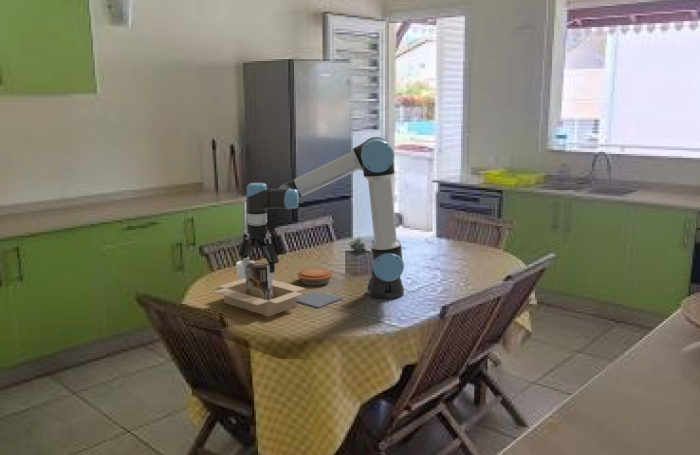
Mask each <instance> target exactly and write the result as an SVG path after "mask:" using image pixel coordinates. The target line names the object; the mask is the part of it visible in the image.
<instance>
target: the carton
mask: <svg viewBox="0 0 700 455" xmlns="http://www.w3.org/2000/svg"><path fill="white" fill-rule="evenodd" d="M218 288H221V289H217V290H214V291H213V293H216V294H218V295H222V296H223V300H224V302H223V303H225V304H227V305H230V306H233V307H236V306H237V308H239V307H240V308H239V309H242V308H244V309H243V310H245V309H247V310H246V311H249V310H250V311H249V312H252V311H253V312H252V313H255V312H257V313H256V314H258V313H260V314H259V315H261V314H263V315H262V316H264V315H266V316H265V317H267V316H269V317H271V315H272V316H274V315H277V314H280V313H282V312H285V311H288V310H290V309H293V308H296V307H298V302H297V298H299V297H301V296H304V294H303V293H302V292H301V291H305V290H306V288H305V287H302V286H297V285H294V284H290V283H287V282H283V281H278V280H275V279H274V280H272V289H273V299H271V300H268V301H267V300H264V299H261V298H257V297H254V296H250V295H247V289H246V278H244V279H240V280H238V279H237V280H234V281H231V282H227V283H224V284H221V285H218Z"/></svg>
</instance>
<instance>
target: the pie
mask: <svg viewBox="0 0 700 455" xmlns="http://www.w3.org/2000/svg"><path fill="white" fill-rule="evenodd" d="M332 276H333V272H332V271H329V269H325V268H320V267H319V268H318V267H314V268H312V267H311V268H306V269H303V270H301V271H299V272H298V273H296V277H298V279H299V280H300V281H301V282H302V284H304V285H307V286H323V285H326V284H327V283H329V280H330V279H331V278H332Z"/></svg>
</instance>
